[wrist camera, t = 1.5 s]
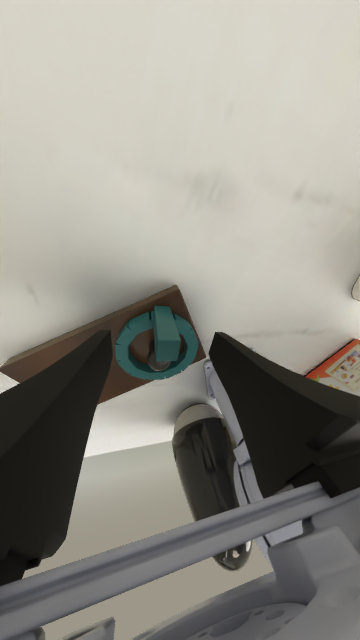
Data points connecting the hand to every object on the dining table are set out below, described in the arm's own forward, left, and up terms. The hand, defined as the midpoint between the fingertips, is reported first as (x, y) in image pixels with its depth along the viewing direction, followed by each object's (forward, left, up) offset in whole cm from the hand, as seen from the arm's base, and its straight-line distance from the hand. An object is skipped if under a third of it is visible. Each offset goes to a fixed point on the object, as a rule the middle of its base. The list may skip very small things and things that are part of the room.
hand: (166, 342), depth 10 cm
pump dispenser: (-23, -1, -6) cm, 24 cm away
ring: (-4, +1, -5) cm, 6 cm away
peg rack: (-5, +6, -6) cm, 10 cm away
